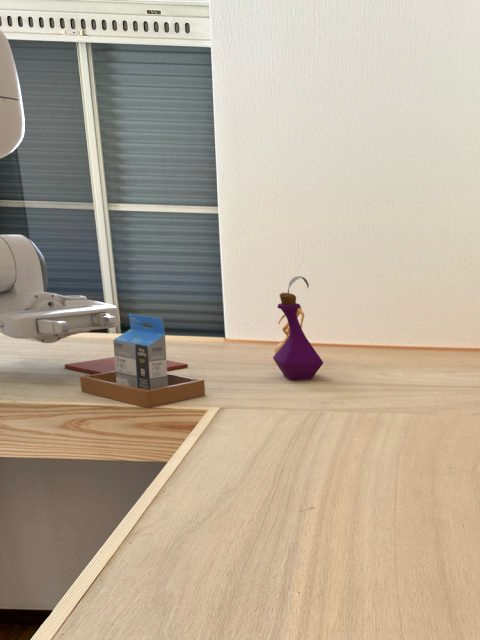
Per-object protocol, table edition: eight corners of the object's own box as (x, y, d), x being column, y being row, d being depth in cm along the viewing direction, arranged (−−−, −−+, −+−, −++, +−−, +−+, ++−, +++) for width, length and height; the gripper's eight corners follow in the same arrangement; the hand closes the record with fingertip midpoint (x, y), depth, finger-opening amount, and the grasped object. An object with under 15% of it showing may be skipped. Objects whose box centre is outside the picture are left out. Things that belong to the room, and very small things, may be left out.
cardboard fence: (147, 407, 111) (146, 391, 110) (81, 391, 119) (79, 376, 118) (205, 395, 120) (204, 380, 119) (140, 380, 128) (138, 366, 127)
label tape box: (116, 391, 120) (107, 314, 116) (136, 387, 123) (129, 312, 119) (150, 399, 116) (143, 320, 111) (171, 395, 119) (165, 318, 114)
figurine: (265, 359, 151) (264, 299, 146) (290, 357, 154) (289, 298, 150) (287, 366, 145) (286, 304, 141) (312, 363, 149) (312, 302, 144)
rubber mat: (118, 379, 129) (117, 376, 129) (64, 367, 137) (64, 364, 137) (188, 367, 141) (187, 364, 141) (135, 356, 149) (134, 354, 149)
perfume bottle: (284, 382, 130) (282, 277, 124) (273, 374, 137) (270, 274, 130) (323, 380, 133) (323, 277, 127) (310, 372, 140) (310, 274, 133)
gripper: (-19, 303, 121) (28, 311, 114) (89, 294, 136) (136, 301, 129) (-12, 342, 123) (34, 351, 116) (93, 329, 139) (140, 337, 132)
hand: (89, 325), depth 123 cm, fingers open, 8 cm apart
